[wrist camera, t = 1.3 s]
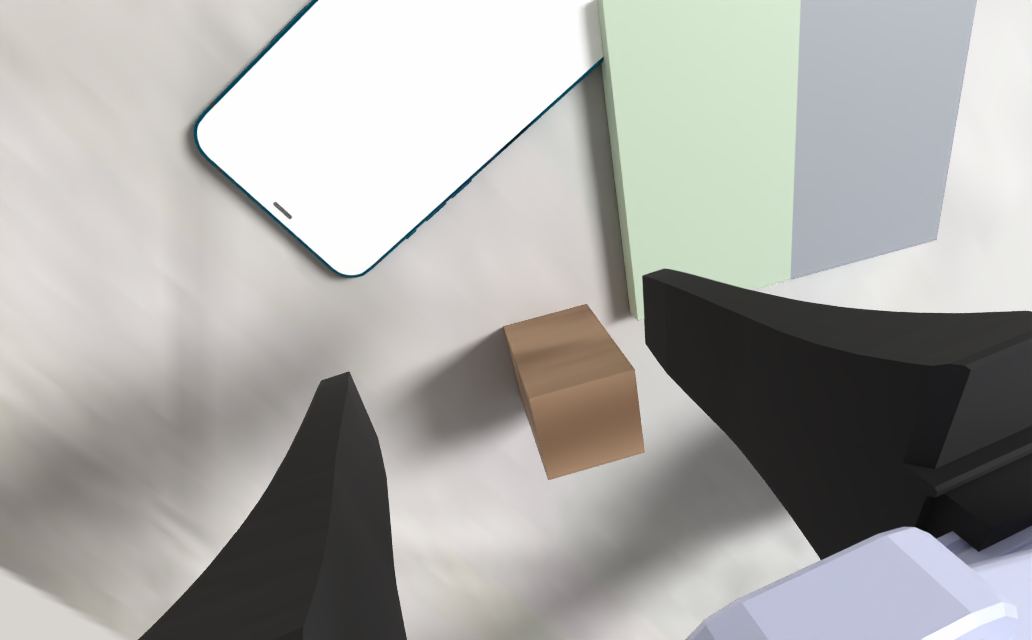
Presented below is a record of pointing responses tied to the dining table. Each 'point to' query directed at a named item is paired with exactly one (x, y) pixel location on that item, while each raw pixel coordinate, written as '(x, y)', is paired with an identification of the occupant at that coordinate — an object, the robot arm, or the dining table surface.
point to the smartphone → (389, 111)
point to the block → (575, 391)
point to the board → (778, 131)
